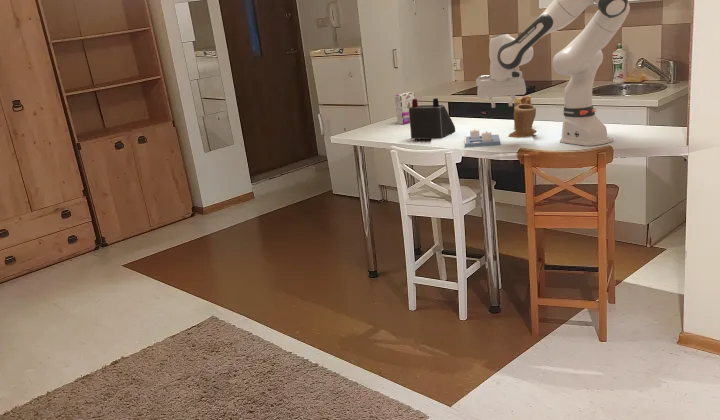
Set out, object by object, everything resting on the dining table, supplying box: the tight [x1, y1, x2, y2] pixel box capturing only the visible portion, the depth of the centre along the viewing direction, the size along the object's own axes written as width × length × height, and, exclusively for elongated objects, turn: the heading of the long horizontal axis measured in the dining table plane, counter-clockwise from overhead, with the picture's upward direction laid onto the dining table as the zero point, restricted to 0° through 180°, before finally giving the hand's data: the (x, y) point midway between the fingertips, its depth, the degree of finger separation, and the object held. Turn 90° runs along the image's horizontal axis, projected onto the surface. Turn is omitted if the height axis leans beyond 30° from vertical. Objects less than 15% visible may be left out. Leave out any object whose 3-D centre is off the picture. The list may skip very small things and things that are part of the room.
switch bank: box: [464, 134, 501, 148], centre depth 291 cm, size 15×16×3 cm
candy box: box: [513, 95, 532, 131], centre depth 318 cm, size 9×4×15 cm, turn 134°
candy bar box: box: [394, 91, 416, 126], centre depth 368 cm, size 11×5×16 cm, turn 132°
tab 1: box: [469, 128, 481, 139], centre depth 295 cm, size 4×3×5 cm
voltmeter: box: [409, 97, 456, 142], centre depth 317 cm, size 16×16×20 cm
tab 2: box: [481, 130, 492, 142], centre depth 286 cm, size 4×3×5 cm
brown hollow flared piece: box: [507, 104, 537, 138], centre depth 298 cm, size 15×12×15 cm
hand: (502, 106), depth 281 cm, fingers open, 6 cm apart
